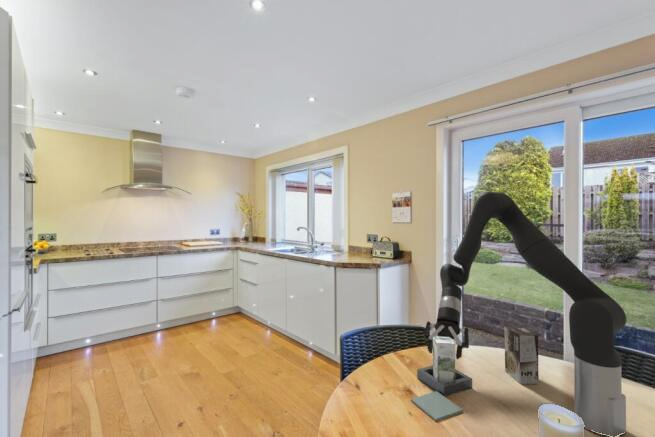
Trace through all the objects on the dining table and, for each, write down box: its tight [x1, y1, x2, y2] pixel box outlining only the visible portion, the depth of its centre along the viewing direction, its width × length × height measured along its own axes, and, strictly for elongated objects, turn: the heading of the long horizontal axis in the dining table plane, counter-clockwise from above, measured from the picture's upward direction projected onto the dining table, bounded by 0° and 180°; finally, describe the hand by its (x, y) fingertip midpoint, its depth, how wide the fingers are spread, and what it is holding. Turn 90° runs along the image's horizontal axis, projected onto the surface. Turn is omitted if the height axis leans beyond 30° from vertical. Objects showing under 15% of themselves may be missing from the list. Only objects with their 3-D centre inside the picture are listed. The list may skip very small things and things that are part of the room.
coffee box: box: [503, 325, 540, 385], centre depth 103 cm, size 9×6×16 cm
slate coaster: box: [410, 390, 464, 422], centre depth 87 cm, size 10×10×1 cm
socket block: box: [416, 364, 473, 398], centre depth 99 cm, size 12×12×3 cm
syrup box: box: [432, 336, 456, 383], centre depth 99 cm, size 6×6×14 cm
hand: (443, 355), depth 99 cm, fingers open, 8 cm apart
